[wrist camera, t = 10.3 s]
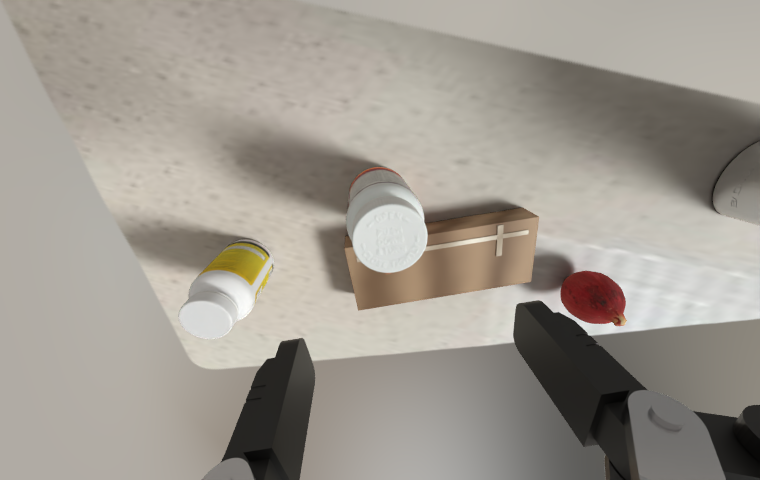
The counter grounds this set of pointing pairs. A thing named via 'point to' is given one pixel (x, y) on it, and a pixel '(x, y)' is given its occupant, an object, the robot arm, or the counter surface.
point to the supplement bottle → (226, 289)
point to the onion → (593, 298)
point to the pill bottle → (385, 221)
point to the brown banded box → (454, 260)
